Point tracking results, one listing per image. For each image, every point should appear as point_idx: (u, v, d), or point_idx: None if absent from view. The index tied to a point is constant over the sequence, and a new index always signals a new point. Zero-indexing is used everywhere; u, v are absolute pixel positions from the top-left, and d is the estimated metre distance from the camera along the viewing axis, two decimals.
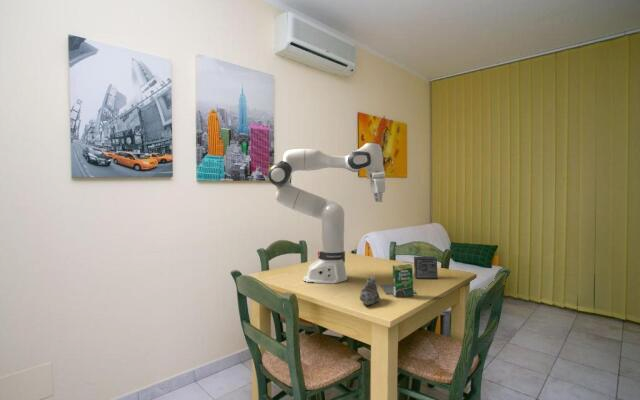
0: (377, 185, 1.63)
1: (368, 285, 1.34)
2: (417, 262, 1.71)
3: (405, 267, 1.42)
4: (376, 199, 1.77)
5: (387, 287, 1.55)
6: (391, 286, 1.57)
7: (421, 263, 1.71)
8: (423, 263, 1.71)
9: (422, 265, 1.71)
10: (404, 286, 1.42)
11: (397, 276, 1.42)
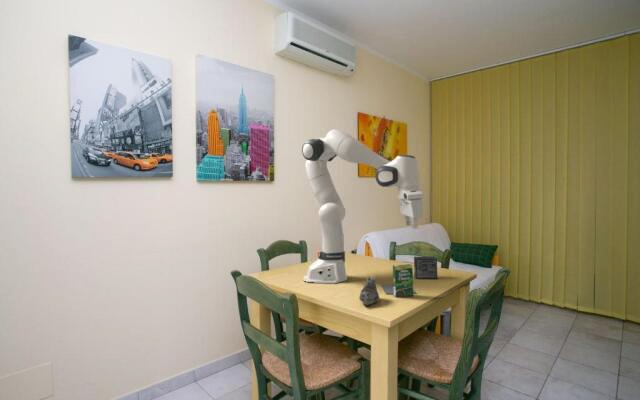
0: (413, 209, 1.32)
1: (368, 285, 1.34)
2: (417, 262, 1.71)
3: (405, 267, 1.42)
4: (407, 222, 1.46)
5: (387, 287, 1.55)
6: (391, 286, 1.57)
7: (421, 263, 1.71)
8: (423, 263, 1.71)
9: (422, 265, 1.71)
10: (404, 286, 1.42)
11: (397, 276, 1.42)
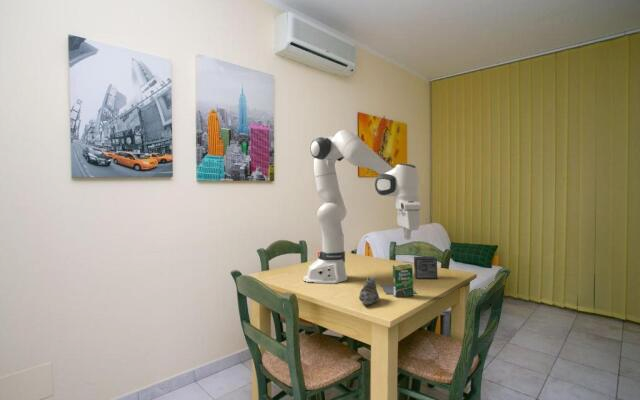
0: (409, 220, 1.26)
1: (367, 285, 1.34)
2: (417, 262, 1.71)
3: (405, 267, 1.42)
4: None
5: (387, 287, 1.55)
6: (391, 286, 1.57)
7: (421, 263, 1.71)
8: (423, 263, 1.71)
9: (422, 265, 1.71)
10: (404, 286, 1.42)
11: (397, 276, 1.42)
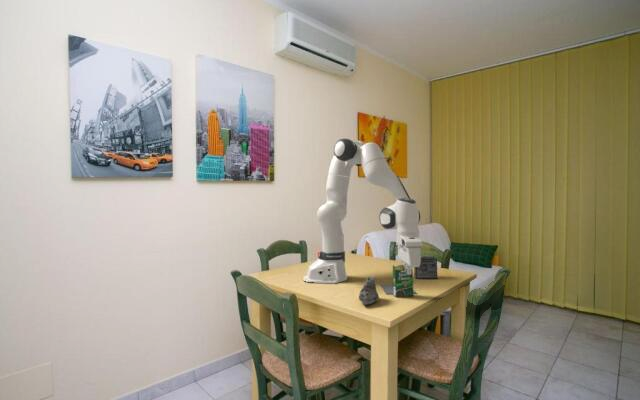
0: (411, 257, 1.26)
1: (367, 285, 1.34)
2: None
3: None
4: None
5: (387, 287, 1.55)
6: (391, 286, 1.57)
7: (421, 263, 1.71)
8: (423, 263, 1.71)
9: (422, 265, 1.71)
10: (404, 286, 1.42)
11: (397, 276, 1.42)
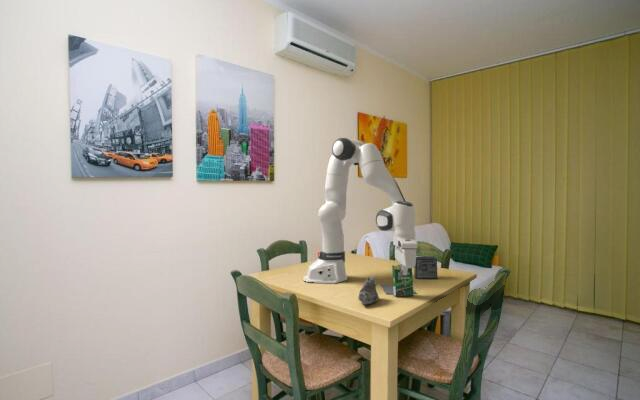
0: (406, 258, 1.30)
1: (367, 285, 1.34)
2: (417, 262, 1.71)
3: None
4: None
5: (387, 287, 1.55)
6: (391, 286, 1.57)
7: (421, 263, 1.71)
8: (423, 263, 1.71)
9: (422, 265, 1.71)
10: (403, 285, 1.42)
11: (397, 276, 1.42)
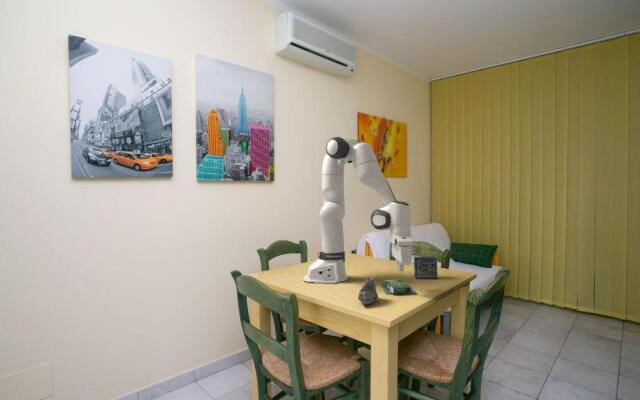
0: (402, 255, 1.36)
1: (366, 285, 1.34)
2: (417, 262, 1.71)
3: (393, 280, 1.57)
4: None
5: None
6: None
7: (421, 263, 1.71)
8: (423, 263, 1.71)
9: (422, 265, 1.71)
10: (397, 284, 1.50)
11: (388, 282, 1.53)
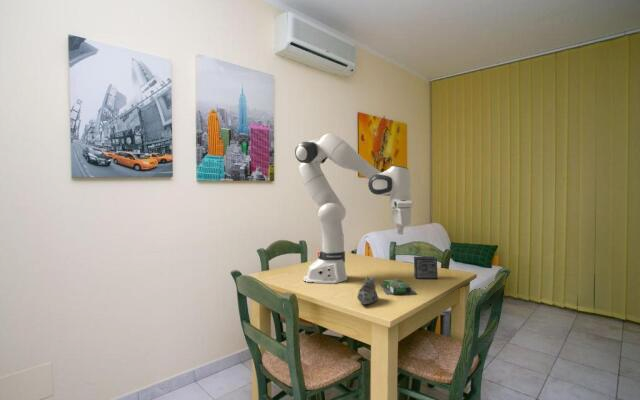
0: (402, 216, 1.40)
1: (366, 285, 1.34)
2: (417, 262, 1.71)
3: (393, 280, 1.57)
4: None
5: None
6: None
7: (421, 263, 1.71)
8: (423, 263, 1.71)
9: (422, 265, 1.71)
10: (397, 284, 1.50)
11: (388, 282, 1.53)
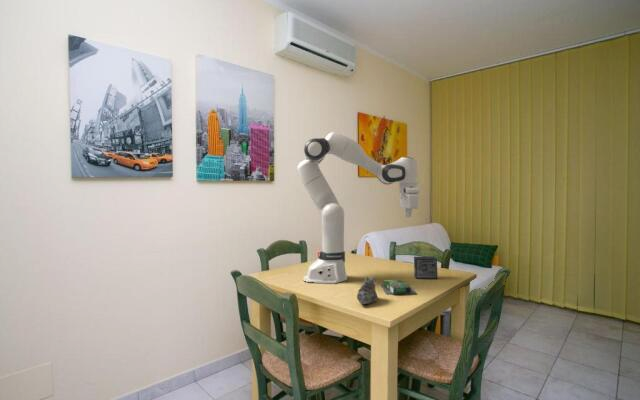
0: (410, 200, 1.61)
1: (365, 285, 1.34)
2: (417, 262, 1.71)
3: (393, 280, 1.57)
4: None
5: None
6: None
7: (421, 263, 1.71)
8: (423, 263, 1.71)
9: (422, 265, 1.71)
10: (397, 284, 1.50)
11: (388, 282, 1.53)
